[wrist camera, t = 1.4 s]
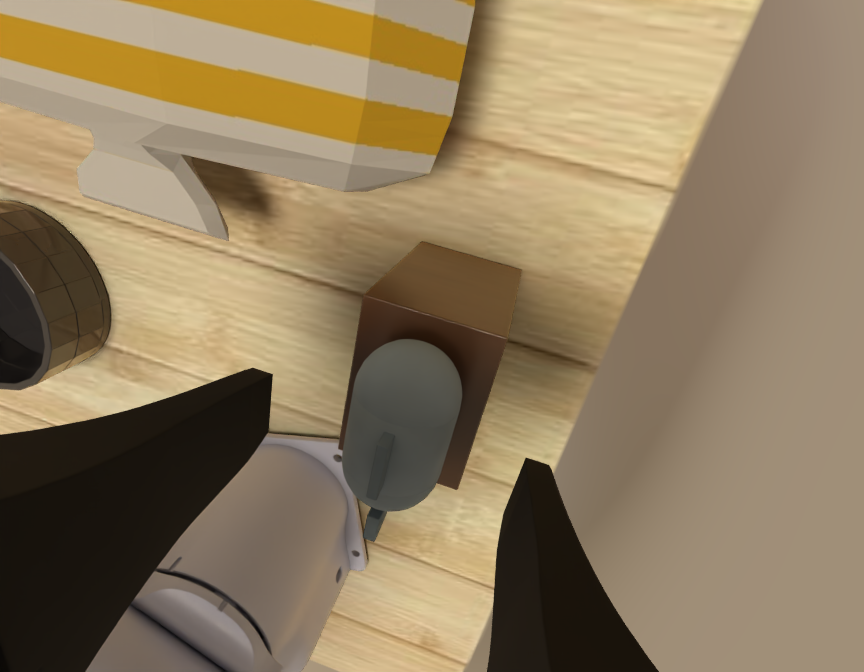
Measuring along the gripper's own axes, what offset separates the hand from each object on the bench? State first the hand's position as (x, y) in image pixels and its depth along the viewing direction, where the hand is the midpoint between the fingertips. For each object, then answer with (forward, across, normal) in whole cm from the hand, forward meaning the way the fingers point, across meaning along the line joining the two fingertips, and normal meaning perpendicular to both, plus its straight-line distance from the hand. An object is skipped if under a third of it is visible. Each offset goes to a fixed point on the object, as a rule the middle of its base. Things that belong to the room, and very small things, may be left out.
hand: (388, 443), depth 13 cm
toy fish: (+2, 0, 0) cm, 2 cm away
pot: (+9, +23, +5) cm, 25 cm away
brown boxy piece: (+9, 0, 0) cm, 9 cm away
